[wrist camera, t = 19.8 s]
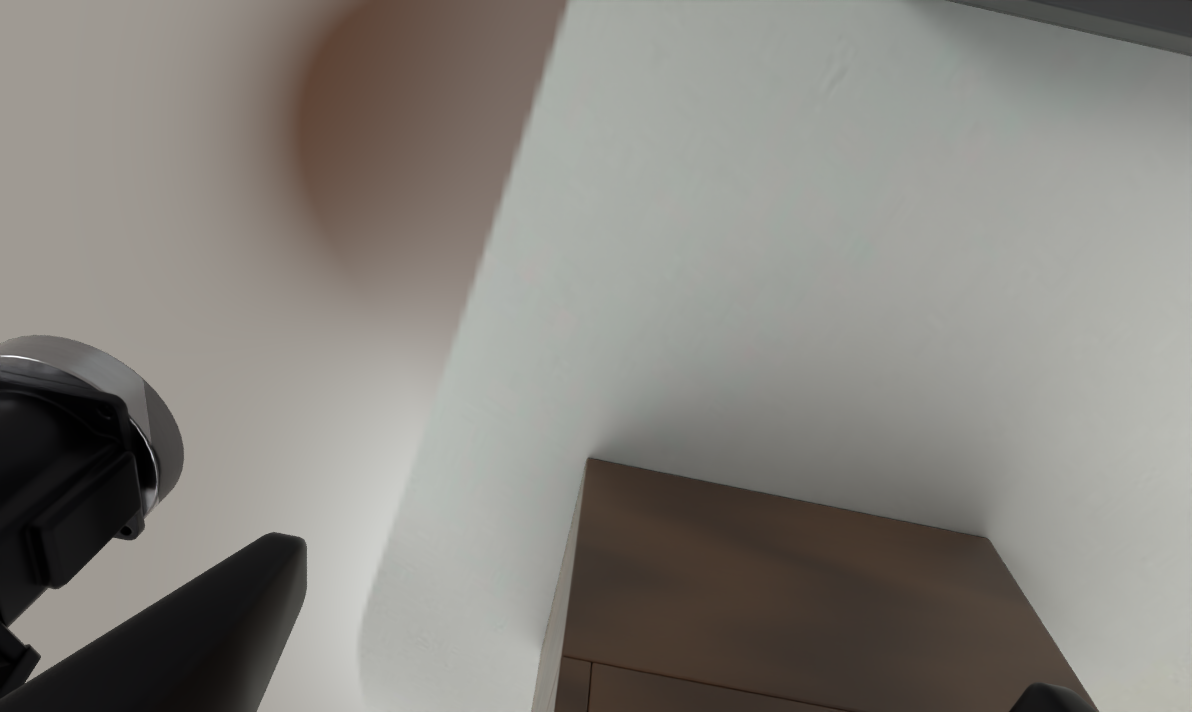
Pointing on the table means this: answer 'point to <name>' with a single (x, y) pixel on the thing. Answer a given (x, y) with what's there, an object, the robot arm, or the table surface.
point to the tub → (1109, 18)
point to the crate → (778, 608)
